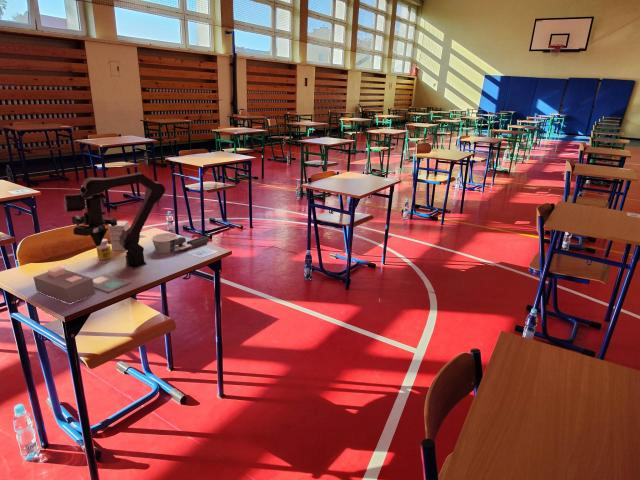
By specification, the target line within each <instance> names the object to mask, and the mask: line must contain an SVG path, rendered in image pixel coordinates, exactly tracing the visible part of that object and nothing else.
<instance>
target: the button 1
mask: <svg viewBox="0 0 640 480" xmlns="http://www.w3.org/2000/svg"><path fill="white" fill-rule="evenodd" d="M65 270H66V269H65V267H62V266H55V267H53V268H50V269H47V272H48V273H49V276H52V277H58V276H60V275H63V274H66V273H65Z"/></svg>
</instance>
